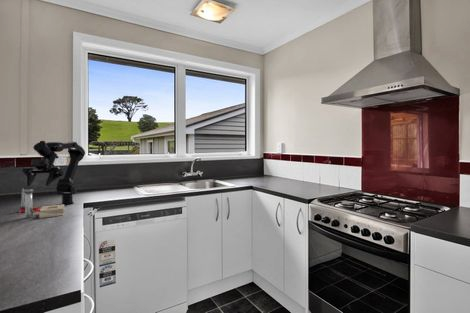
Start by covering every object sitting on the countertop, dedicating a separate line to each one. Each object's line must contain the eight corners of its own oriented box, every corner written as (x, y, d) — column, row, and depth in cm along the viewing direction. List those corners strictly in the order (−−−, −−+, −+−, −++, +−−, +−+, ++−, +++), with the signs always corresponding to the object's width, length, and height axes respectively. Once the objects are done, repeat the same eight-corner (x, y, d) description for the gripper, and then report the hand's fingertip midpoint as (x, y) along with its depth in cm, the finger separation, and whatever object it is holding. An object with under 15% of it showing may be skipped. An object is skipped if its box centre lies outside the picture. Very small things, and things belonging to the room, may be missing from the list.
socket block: (42, 213, 137) (41, 206, 137) (64, 210, 143) (64, 204, 142) (39, 218, 127) (39, 211, 127) (63, 215, 132) (63, 208, 132)
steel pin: (24, 217, 129) (23, 189, 129) (34, 216, 131) (33, 189, 131) (23, 218, 126) (22, 190, 125) (33, 217, 128) (32, 190, 128)
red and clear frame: (43, 209, 149) (24, 209, 146) (44, 187, 149) (24, 187, 146) (37, 212, 141) (17, 213, 138) (38, 189, 141) (17, 189, 138)
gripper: (21, 153, 136) (8, 178, 127) (57, 152, 137) (47, 177, 128) (34, 164, 145) (22, 188, 136) (68, 163, 146) (58, 188, 138)
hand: (37, 185), depth 134 cm, fingers open, 9 cm apart
